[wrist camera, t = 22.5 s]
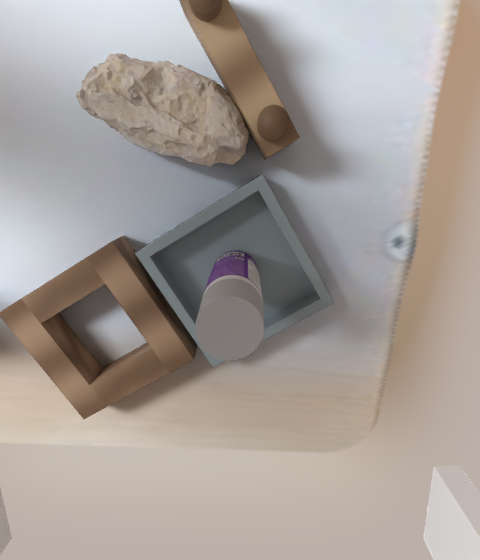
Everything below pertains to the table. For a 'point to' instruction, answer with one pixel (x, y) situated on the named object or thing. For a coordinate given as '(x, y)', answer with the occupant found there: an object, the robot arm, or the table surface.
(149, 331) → the block
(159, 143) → the stone
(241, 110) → the bar
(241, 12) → the table surface
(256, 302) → the container
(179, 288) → the tray
